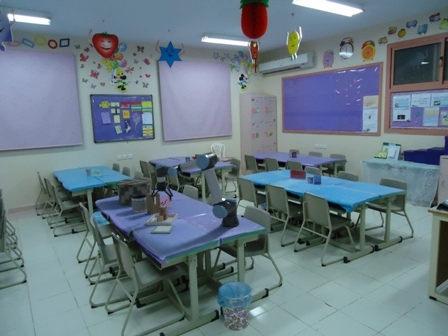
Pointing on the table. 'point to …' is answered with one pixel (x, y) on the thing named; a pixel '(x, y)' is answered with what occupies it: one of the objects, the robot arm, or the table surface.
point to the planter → (139, 203)
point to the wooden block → (152, 203)
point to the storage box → (133, 189)
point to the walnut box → (163, 212)
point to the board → (162, 230)
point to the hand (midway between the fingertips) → (162, 204)
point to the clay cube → (160, 219)
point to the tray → (166, 222)
